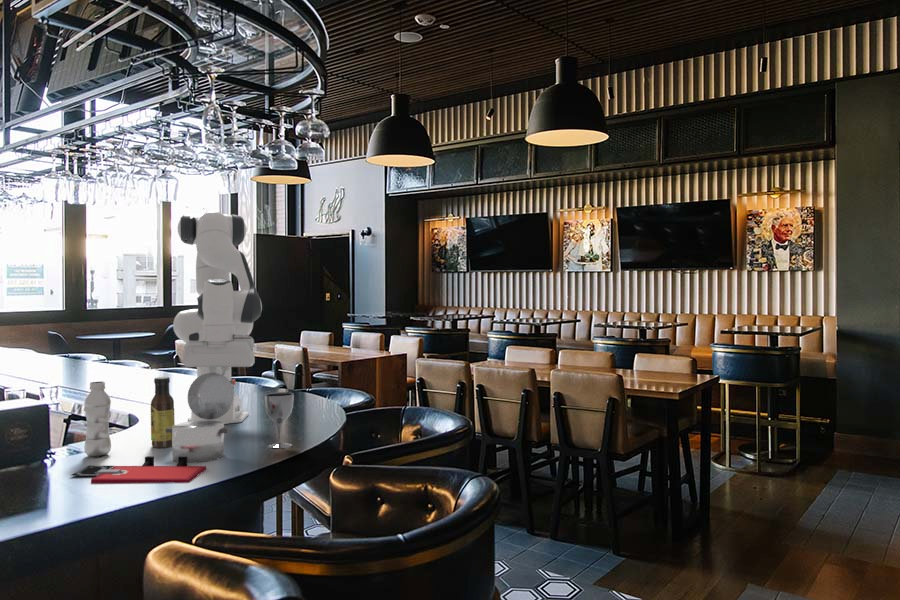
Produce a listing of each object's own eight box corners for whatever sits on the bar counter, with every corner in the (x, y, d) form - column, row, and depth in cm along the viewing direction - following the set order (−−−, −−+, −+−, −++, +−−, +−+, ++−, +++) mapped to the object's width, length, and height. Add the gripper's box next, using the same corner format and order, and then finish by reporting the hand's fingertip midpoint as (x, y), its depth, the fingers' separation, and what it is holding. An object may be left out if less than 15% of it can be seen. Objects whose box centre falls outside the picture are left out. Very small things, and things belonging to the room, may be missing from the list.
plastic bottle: (106, 451, 182) (106, 380, 182) (114, 455, 177) (114, 382, 177) (81, 455, 178) (80, 382, 178) (88, 460, 173) (88, 384, 173)
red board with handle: (92, 467, 166) (58, 485, 151) (92, 456, 166) (58, 473, 151) (211, 467, 167) (188, 485, 152) (211, 456, 167) (188, 473, 152)
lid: (185, 419, 183) (190, 419, 186) (231, 419, 182) (235, 419, 185) (189, 372, 185) (193, 373, 188) (234, 372, 184) (238, 373, 187)
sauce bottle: (154, 444, 192) (154, 376, 191) (177, 443, 193) (176, 375, 192) (148, 449, 185) (147, 378, 185) (171, 448, 186) (171, 378, 186)
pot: (181, 449, 184) (181, 419, 184) (239, 450, 183) (239, 420, 183) (156, 462, 170) (155, 429, 170) (219, 463, 169) (218, 430, 169)
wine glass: (286, 450, 183) (286, 396, 183) (260, 448, 185) (259, 395, 185) (298, 443, 191) (298, 392, 191) (273, 442, 193) (272, 391, 193)
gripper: (257, 334, 192) (258, 381, 192) (189, 334, 193) (190, 381, 193) (250, 335, 186) (250, 383, 186) (179, 335, 187) (180, 383, 187)
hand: (219, 382), depth 190 cm, fingers closed
